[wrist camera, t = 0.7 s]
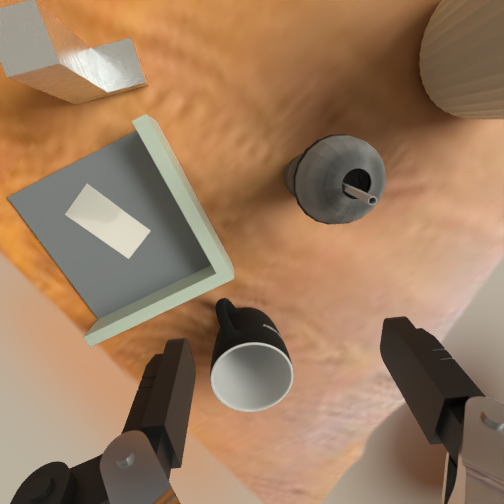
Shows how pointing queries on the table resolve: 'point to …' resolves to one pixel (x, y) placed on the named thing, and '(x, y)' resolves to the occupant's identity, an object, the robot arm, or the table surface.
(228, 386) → the mug
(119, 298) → the mat
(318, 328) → the table surface
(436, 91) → the canister
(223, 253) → the corner walls
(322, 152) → the beverage cup
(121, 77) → the bracket
